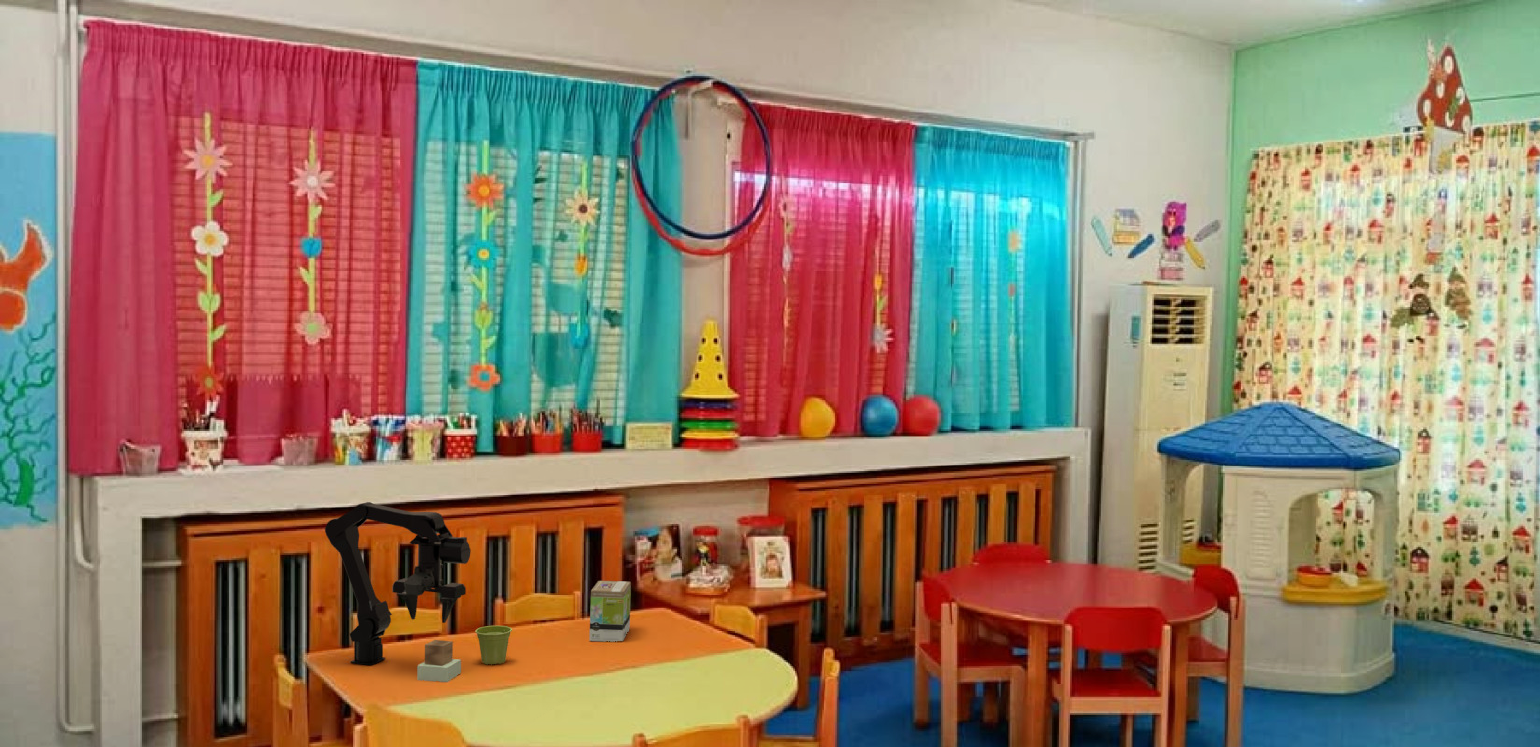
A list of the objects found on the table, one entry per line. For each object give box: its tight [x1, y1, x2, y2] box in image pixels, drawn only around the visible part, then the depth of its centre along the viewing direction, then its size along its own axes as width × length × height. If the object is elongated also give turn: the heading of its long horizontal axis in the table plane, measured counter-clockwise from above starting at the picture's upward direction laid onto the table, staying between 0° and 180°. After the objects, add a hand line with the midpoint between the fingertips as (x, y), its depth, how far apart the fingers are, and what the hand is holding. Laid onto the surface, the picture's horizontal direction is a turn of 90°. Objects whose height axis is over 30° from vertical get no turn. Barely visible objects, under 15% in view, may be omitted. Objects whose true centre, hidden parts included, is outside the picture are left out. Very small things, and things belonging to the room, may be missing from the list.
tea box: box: [588, 580, 632, 643], centre depth 369 cm, size 15×10×15 cm
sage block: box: [416, 658, 462, 683], centre depth 324 cm, size 8×8×4 cm
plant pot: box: [475, 625, 513, 666], centre depth 339 cm, size 9×9×9 cm
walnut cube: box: [424, 639, 454, 666], centre depth 324 cm, size 5×5×5 cm
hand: (428, 621), depth 334 cm, fingers open, 9 cm apart
